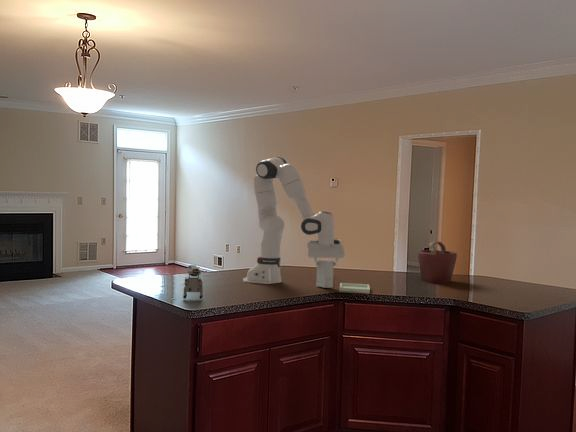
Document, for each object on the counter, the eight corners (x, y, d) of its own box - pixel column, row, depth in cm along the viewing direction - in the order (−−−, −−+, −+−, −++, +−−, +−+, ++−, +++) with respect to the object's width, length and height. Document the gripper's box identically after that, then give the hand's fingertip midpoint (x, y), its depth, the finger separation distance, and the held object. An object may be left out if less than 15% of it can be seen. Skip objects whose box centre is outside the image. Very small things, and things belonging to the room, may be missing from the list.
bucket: (439, 286, 311) (441, 243, 310) (407, 280, 328) (409, 240, 327) (461, 282, 327) (463, 242, 326) (430, 277, 344) (432, 239, 343)
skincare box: (332, 288, 292) (335, 261, 292) (323, 287, 288) (326, 260, 289) (323, 286, 299) (326, 259, 299) (314, 285, 295) (317, 259, 296)
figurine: (203, 295, 261) (204, 264, 260) (201, 299, 249) (202, 268, 249) (185, 294, 260) (185, 264, 259) (182, 299, 249) (183, 267, 248)
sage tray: (339, 291, 282) (339, 287, 281) (340, 286, 297) (340, 282, 297) (369, 293, 280) (369, 289, 279) (368, 288, 295) (369, 284, 295)
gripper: (306, 241, 290) (307, 266, 291) (344, 241, 288) (344, 266, 288) (307, 240, 296) (308, 264, 297) (344, 240, 294) (344, 265, 294)
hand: (326, 265), depth 293 cm, fingers open, 8 cm apart
